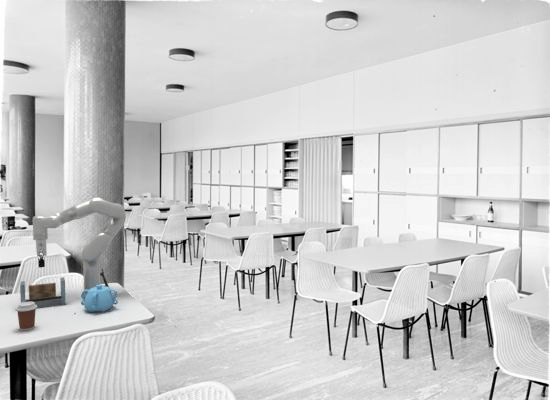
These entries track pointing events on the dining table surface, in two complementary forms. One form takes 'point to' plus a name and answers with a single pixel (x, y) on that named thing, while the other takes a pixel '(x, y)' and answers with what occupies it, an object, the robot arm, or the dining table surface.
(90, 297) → the decorative pot
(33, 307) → the coffee cup
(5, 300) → the dining table surface
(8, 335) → the dining table surface
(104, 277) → the phone stand
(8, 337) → the dining table surface
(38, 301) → the door track
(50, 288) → the brown rectangular block
